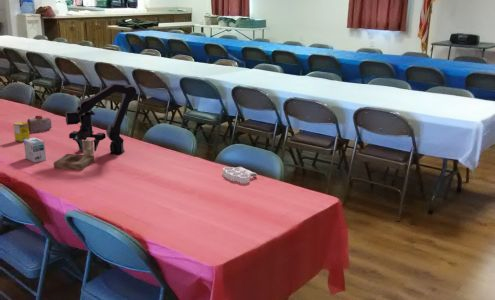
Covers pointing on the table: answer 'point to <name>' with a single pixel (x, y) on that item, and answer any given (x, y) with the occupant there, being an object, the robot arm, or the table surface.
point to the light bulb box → (34, 149)
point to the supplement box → (21, 131)
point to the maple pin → (88, 147)
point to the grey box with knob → (39, 124)
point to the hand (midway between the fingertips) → (88, 150)
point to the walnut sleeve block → (74, 161)
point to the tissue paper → (238, 174)
